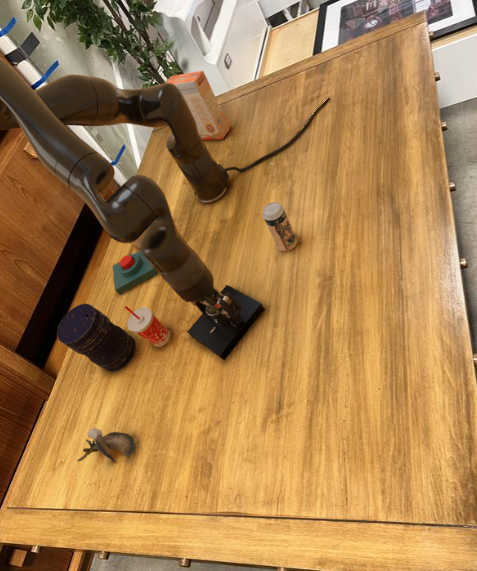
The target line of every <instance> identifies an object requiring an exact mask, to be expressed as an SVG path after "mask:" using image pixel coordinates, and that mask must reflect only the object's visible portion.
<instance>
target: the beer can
mask: <svg viewBox="0 0 477 571" xmlns="http://www.w3.org/2000/svg"><path fill="white" fill-rule="evenodd" d="M262 218H263V220H264V221H265V223H266V224H265V225H266V226H267V227H268V229H269V232H270V234H271V236H272V237H273V240H274V242H275V244H276V246H277V248H278V249H279V250H280V251H283V252H287V251H291V250H293V249H294V248H295V247H296V246H297V244H298V238H297V237H296V234H295V232H294V229H293V227H292V224H291V221H290V220H289V217H288V215H287V213H286V211H285V208H284V206H283V205H282V204H280V203H279V202H276V201H273V202H269V203H267V204H266V205H265V206H264V208H263V209H262Z"/></svg>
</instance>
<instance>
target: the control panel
mask: <svg viewBox="0 0 477 571" xmlns="http://www.w3.org/2000/svg"><path fill="white" fill-rule="evenodd" d="M219 292H220V293H221V294H223V295H224V294H225V293H226V292H228V293H230V294H231V296H232V297H233V298H234V299H235V301H236V302H237V303H238V304H239V305H240V307H241V308H242V310H241V312H240V313H239V315H240V317H241V320H240V322H239V323H238V325H237V326H235V325H233V324H232V323H231V322H230V321H229V322H228V323H227V324H226V325H223V326H219V325H217V324H216V323H215V322H214V321H213V320H212V319H211V318H210V316H209V315H208V314H206V315H205V314H203V313H202V312H201V315H199V316H198V318H197V319H196V320H195V321H194V322H193V324H192V325H191V326H190V327H189V329H188V330H187V331H186V333H187V334H188V335H189V336H191V338H192V339H194V340H195V341H197V343H200V345H202V346H204V347H205V348H206V349H207V350H209V351H211V352H212V353H214V355H216V356H217V357H218V358H220V359H222V361H224V362H225V361H226V360H227V358H228V357H229V355H231V353H232V352H233V351H234V350H235V348H236V347H237V346H238V344H240V342H241V340H242V339H243V338H244V337H245V336H246V334H247V333H248V332H249V330H250V329H251V328H252V327H253V325H254V324H255V323H256V321H257V320H258V319H259V318H260V317H261V315H262V314H263V313H264V311H265V310H266V308H265V307H264V305H263V304H262V302H259V301H258V300H256V299H254V298H252V296H248V294H245V293H243V292H242V291H239V290H238V289H236V288H234V287H232V286H230V285H228V284H226V285H224V287H223V288H222V289H221V291H219Z"/></svg>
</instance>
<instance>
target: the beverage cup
mask: <svg viewBox="0 0 477 571" xmlns="http://www.w3.org/2000/svg"><path fill="white" fill-rule="evenodd" d="M124 309H125V310H127V311H128V312H129V313H130V316H129V318H128V320H127V328H128V329H129V330H130V332H132V333H134V334H137V335H138V336H140V337H141V338H143V339H144V340H146V342H149V343H150V344H152V345H153V346H154V347H157V348H160V347H163V346H165V345H166V344H168V342H169V340H170V337H171V332H170V331H169V330H168V328H167V327H165V325H164V324H163V323H162V322H161V321H160V320H159V319H158V318H157V316H156V315H154V312H153V311H152V310H151V309H150V308H149V307H146V306H143V307H139V308H137V309H135V310H134V311H133V310H131V309H130V307H128V306H127V305H125V306H124Z"/></svg>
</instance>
